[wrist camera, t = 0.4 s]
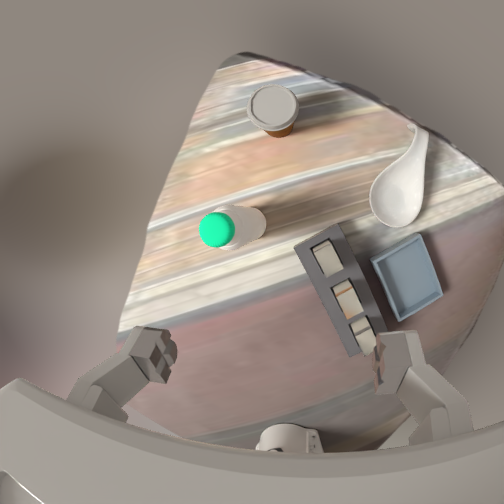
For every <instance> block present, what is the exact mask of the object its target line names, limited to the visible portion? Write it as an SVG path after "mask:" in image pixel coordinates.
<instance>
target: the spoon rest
mask: <svg viewBox="0 0 504 504" xmlns="http://www.w3.org/2000/svg"><path fill="white" fill-rule="evenodd" d="M407 127H408V128H409V130H411V131H412V132H414V133H415V135H414V139H413V142H412V144H411V146H410V147H409V149H408V150H407V151H406V152H405V153H404V154H403V155H402V156H401V157H400V158H398V159H397V160H396V161H394V162H393V163H392V164H390V165H389V166H388V167H386V168H385V169H384V170H383V171H382V172H381V173H380V174H379V175H378V176H377V177H376V179H375V180H374V182H373V183H372V186H371V188H370V192H369V203H370V207H371V210H372V212H373V214H374V215H375V217H376V218H377V219H378V220H379V221H380V222H382V223H383V224H385V225H387V226H389V227H395V228H401V227H404V226H407V225H409V224H410V223H411V222H412V221H413V220H414V219H415V218H416V217H417V215H418V214H419V212H420V209H421V206H422V202H423V195H424V173H425V160H426V153H427V148H428V141H429V133H428V132H427V131H425V130H424V129H422V128H420V127H418V126H417V125H416V124H413V123H411V124H408V125H407Z"/></svg>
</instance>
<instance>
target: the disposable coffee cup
mask: <svg viewBox="0 0 504 504" xmlns="http://www.w3.org/2000/svg"><path fill="white" fill-rule="evenodd" d="M298 112H299V103H298V100H297V98H296V96H295V94H294V93H293V92H292V91H291V90H289V89H288V88H286V87H283V86H280V85H275V84H270V85H264V86H262V87H260V88H258V89H257V90H256V91H254V93H253V94H252V95H251V97H250V98H249V100H248V103H247V114H248V117H249V119H250V120H251V122H252V123H253V124H254V125H255V126H257V127H258V128H260V129H263V130H264V131H266V132H267V133H268V134H269V135H271V136H273V137H276V138H280V137H284V136H286V135H288V134H289V133H290V132H291V130H292V128H293V124H294V121H295V119H296V117H297V115H298Z"/></svg>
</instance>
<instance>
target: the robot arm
mask: <svg viewBox="0 0 504 504" xmlns="http://www.w3.org/2000/svg"><path fill="white" fill-rule="evenodd" d="M170 337H171V334H170V332H169V330H166V329H158V328H151V327H143V326H135V327H134V328H133V329H132V331H131V333H130V335H129V336H128V338H127V340H126V342H125V343H124V345H123V347H122V349H121V350H120V352H119V353H115V354H114V355H113V356H111V357H110V358H108V359H107V360H105V361H104V362H102V363H101V364H99V365H98V366H96V367H95V368H93V369H92V370H90V371H89V372H87V373H86V374H85V375H83V376H82V377H80V378H78V380H77V382H76V384H75V386H74V387H73V389H72V391H71V392H70V394H69V396H68V398H67V400H65V399H63V398H60V397H58V396H56V395H54V394H52V393H50V392H48V391H46V390H43V389H41V388H39V387H38V386H36V385H34V384H32V383H30V382H28V381H27V380H25V379H22V378H18V379H15V380H14V381H12V382H10V383H9V384H7V385H6V386H4V387H3V388H2V389H0V504H504V421H502V422H499V423H497V424H494V425H491V426H488V427H485V428H482V429H478V430H475V431H474V429H473V424H472V419H471V414H470V409H469V405H468V401H467V400H466V399H465V398H464V397H463V396H462V395H461V394H460V393H459V392H458V391H457V390H456V389H455V388H454V387H453V386H452V385H451V384H450V383H448V381H446V379H444V377H442V376H441V375H440V374H439V373H438V372H437V371H436V370H435V369H434V368H433V367H432V366H431V365H430V364H428V365H426V362H425V358H424V354H423V350H422V346H421V343H420V339H419V336H418V332H417V331H416V330H409V331H395V332H383V333H378V334H377V336H376V346H374V348H373V354H372V368H373V371H374V372H375V373H376V375H375V378H374V387H375V395H378V394H393V393H396V395H397V396H398V398H399V399H400V400H401V402H402V403H403V404H404V406H405V407H406V408H407V410H408V411H409V412H410V414H411V415H412V416H413V418H414V419H415V420H416V421H417V423H418V424H419V426H418V428H417V429H416V430H415V431H414V432H413V434H412V435H411V436H410V437H409V446H403V447H397V448H389V449H380V450H370V451H357V452H338V453H324V451H323V448H322V444H321V441H320V438H319V435H318V431H317V430H315V429H306V428H303V427H300V426H298V425H294V424H277V425H273V426H271V427H269V428H267V429H266V430H264V432H263V433H262V434H261V437H260V442H259V443H258V444H257V446H256V450H252V449H243V448H235V447H228V446H221V445H215V444H209V443H203V442H198V441H193V440H188V439H184V438H179V437H175V436H170V435H166V434H162V433H159V432H155V431H151V430H147V429H144V428H140V427H137V426H134V425H130V424H127V423H126V421H127V419H128V415H127V413H126V412H125V411H124V410H123V409H122V408H121V407H123V406H124V405H125V404H126V403H127V402H128V401H129V400H130V399H131V398H133V397H134V396H135V395H136V394H137V393H138V392H139V391H140V390H141V389H142V388H144V387H145V386H146V385H147V384H148V383H149V381H151V382H157V383H163V384H166V383H167V381H168V378H169V376H170V373H171V369H170V366H172V365H173V364H174V363H175V361H176V359H177V346H176V344H175V342H174V341H172V340H171V339H170Z"/></svg>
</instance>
